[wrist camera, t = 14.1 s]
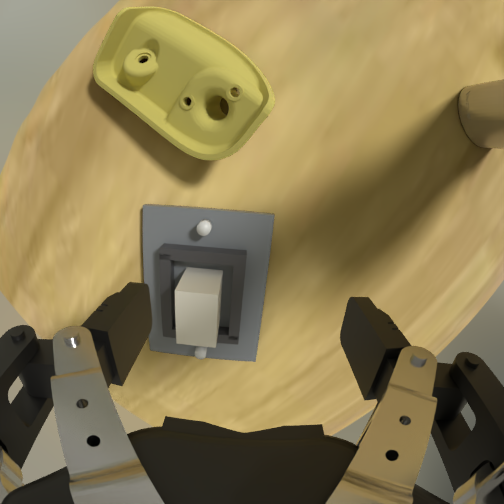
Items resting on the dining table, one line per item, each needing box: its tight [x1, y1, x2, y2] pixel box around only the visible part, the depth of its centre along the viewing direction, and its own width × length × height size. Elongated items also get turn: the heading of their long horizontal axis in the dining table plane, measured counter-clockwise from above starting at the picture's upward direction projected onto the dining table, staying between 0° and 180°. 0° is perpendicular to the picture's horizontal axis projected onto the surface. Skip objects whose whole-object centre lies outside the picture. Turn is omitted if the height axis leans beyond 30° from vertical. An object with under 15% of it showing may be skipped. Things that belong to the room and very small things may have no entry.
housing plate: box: [143, 204, 275, 362], centre depth 31 cm, size 14×19×3 cm
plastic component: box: [93, 7, 275, 160], centre depth 23 cm, size 20×7×10 cm
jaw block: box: [175, 267, 223, 348], centre depth 29 cm, size 4×6×6 cm, turn 174°
